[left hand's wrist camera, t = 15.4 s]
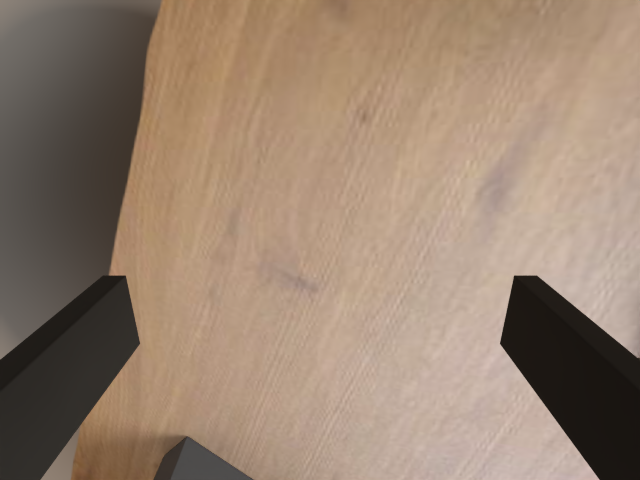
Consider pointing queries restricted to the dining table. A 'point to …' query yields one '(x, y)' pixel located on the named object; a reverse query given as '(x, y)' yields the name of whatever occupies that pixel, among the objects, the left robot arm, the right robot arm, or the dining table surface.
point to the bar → (195, 464)
